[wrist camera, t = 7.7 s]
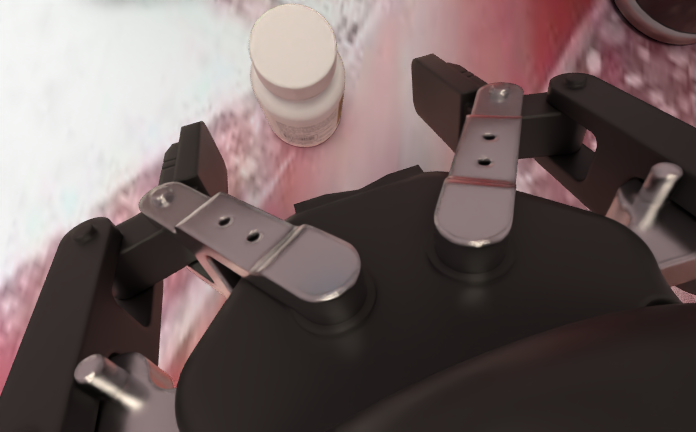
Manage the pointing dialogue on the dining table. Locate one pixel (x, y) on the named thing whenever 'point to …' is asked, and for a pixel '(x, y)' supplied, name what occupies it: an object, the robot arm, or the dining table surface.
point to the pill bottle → (297, 74)
